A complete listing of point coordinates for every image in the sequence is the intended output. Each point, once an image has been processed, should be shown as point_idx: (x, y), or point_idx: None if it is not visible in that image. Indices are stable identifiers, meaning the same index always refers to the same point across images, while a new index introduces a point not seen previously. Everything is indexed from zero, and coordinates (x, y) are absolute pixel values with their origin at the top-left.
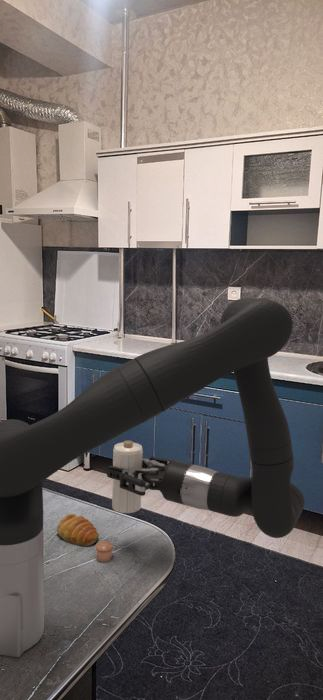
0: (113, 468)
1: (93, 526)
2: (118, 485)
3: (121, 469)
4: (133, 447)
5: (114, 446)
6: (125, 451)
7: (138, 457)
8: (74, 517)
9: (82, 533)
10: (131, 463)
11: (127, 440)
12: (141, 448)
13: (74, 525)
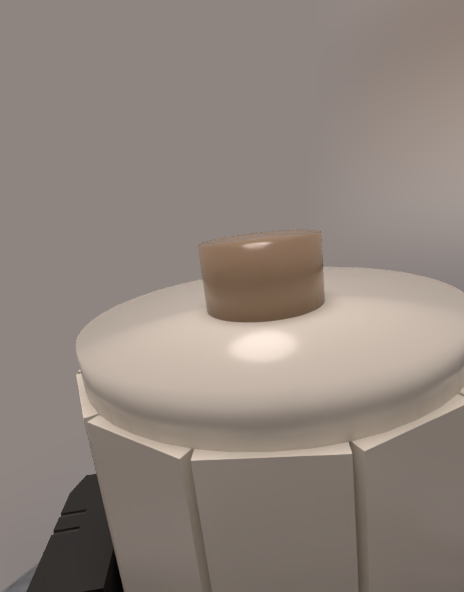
0: (95, 491)
1: None
2: None
3: (82, 563)
4: (294, 323)
5: (177, 285)
6: (77, 354)
7: (274, 542)
8: None
9: None
10: (151, 576)
11: (287, 230)
12: (400, 373)
13: None
